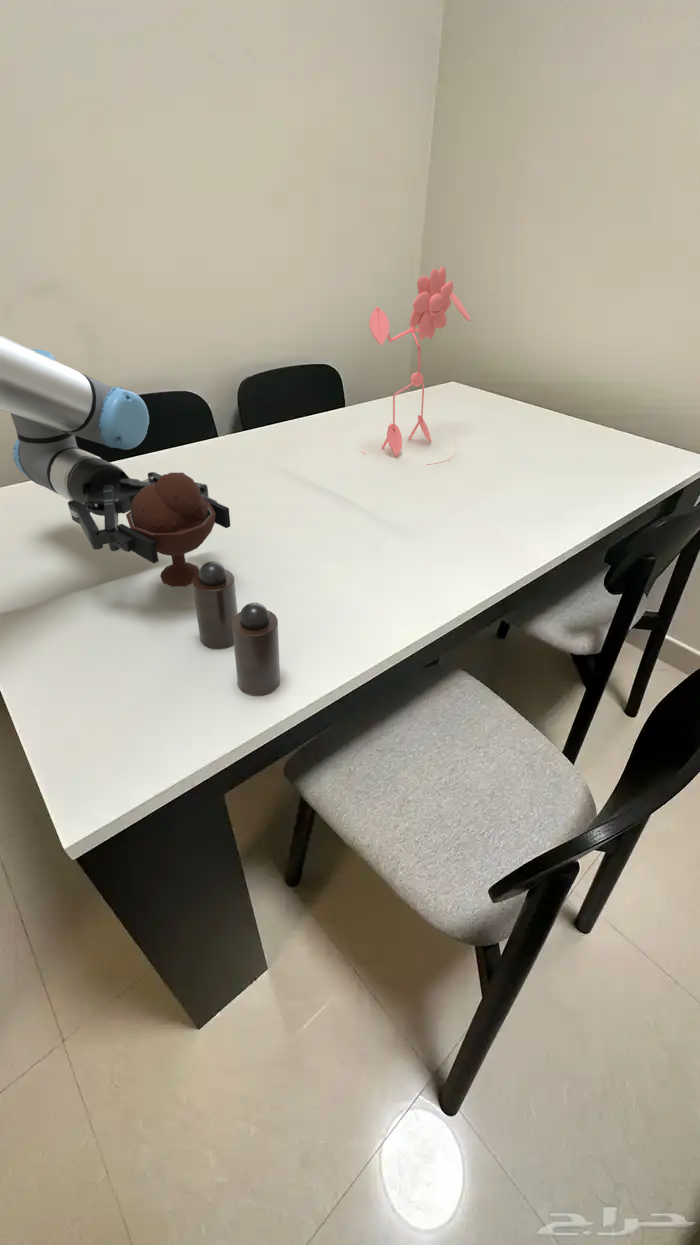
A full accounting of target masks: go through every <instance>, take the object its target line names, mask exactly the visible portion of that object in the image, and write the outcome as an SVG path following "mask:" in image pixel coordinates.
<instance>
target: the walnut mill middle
mask: <svg viewBox="0 0 700 1245" xmlns="http://www.w3.org/2000/svg"><path fill="white" fill-rule="evenodd" d="M199 570H200V571H199V572H198V573H197V574H195V575H194V577H193V579H192V584H191V585H192V591H193V592H192V593H193V599H194V606H195V613H196V618H197V625H198V633H199V638H200V642H201V643H202V645H203V646H205V647H206V648H209V649H214V650H222V649H226V648H227V649H228V648H230V647H232V646H234V641H233V631H232V620H233V618H234V617H235V616H236V615H237V614H238V613H239V612H238V604H237V603H238V602H237V592H236V582H235V575H234V574H233V573H232V572H231V571H230V570H228V569H226V568H225V567H224V565H222V564H221V563H220V562H218V561H213V560H212V561H211V560H210V561H207V562H204V564H202V565H201V567H200V568H199Z"/></svg>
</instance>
